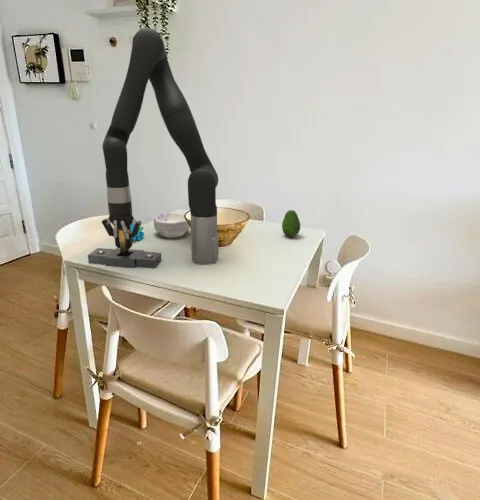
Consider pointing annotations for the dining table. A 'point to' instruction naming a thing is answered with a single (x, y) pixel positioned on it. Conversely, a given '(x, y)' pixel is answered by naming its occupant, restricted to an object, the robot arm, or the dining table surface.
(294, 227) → the avocado
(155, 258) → the grey block with hole
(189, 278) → the dining table surface
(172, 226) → the paper bowls
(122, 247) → the pin
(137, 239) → the gear
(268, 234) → the dining table surface
